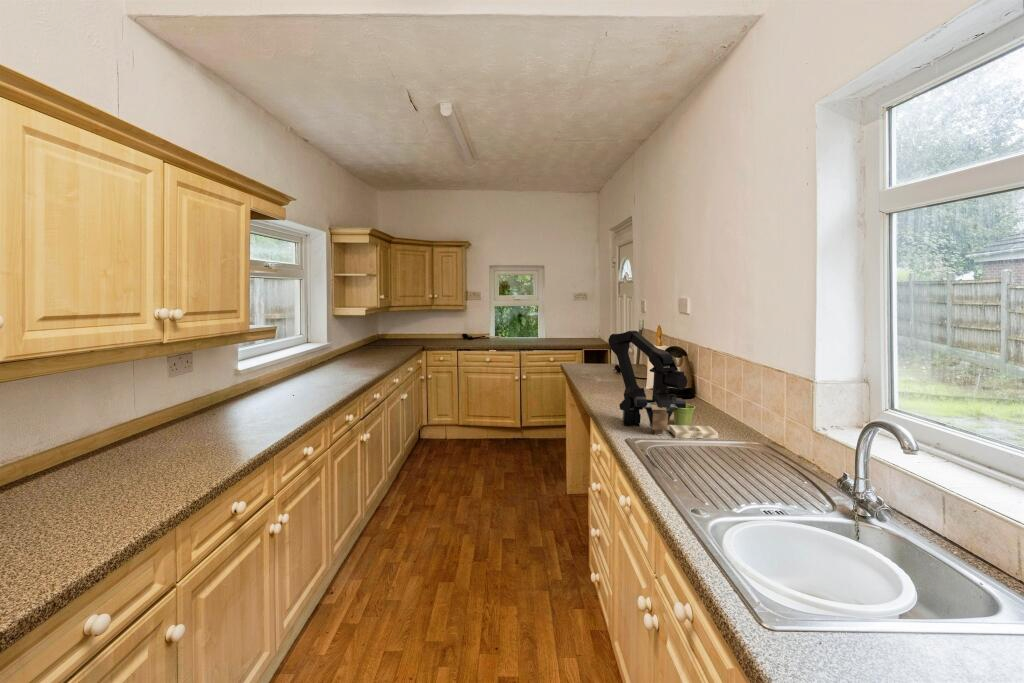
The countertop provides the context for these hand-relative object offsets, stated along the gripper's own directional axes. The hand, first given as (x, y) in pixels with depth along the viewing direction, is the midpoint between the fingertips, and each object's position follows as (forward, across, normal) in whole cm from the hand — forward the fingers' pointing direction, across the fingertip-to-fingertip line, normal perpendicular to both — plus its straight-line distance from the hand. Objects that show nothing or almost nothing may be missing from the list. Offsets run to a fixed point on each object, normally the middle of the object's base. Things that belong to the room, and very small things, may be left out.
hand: (658, 423), depth 197 cm
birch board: (+4, +14, 0) cm, 14 cm away
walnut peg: (+4, 0, 0) cm, 4 cm away
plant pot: (+4, +13, +12) cm, 18 cm away
